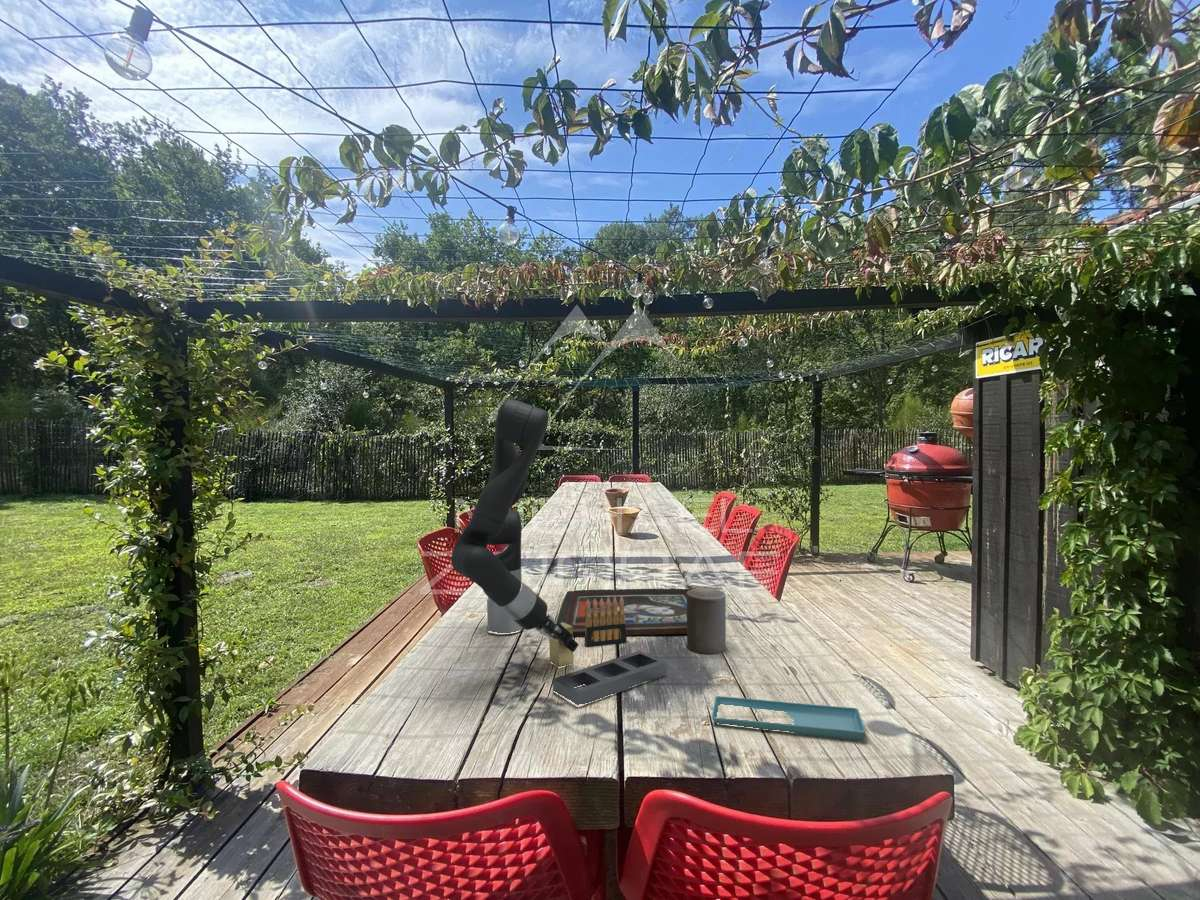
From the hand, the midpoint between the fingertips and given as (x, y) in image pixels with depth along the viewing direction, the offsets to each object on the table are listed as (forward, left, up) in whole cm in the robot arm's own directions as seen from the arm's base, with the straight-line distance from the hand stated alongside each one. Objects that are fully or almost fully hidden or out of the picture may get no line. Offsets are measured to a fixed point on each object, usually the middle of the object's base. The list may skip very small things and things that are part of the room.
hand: (567, 644), depth 139 cm
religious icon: (+20, +35, -5) cm, 41 cm away
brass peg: (-1, -1, -4) cm, 5 cm away
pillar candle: (+35, +6, -5) cm, 35 cm away
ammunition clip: (+10, +11, -5) cm, 15 cm away
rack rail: (+10, -13, -4) cm, 17 cm away
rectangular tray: (+41, -32, -5) cm, 52 cm away
